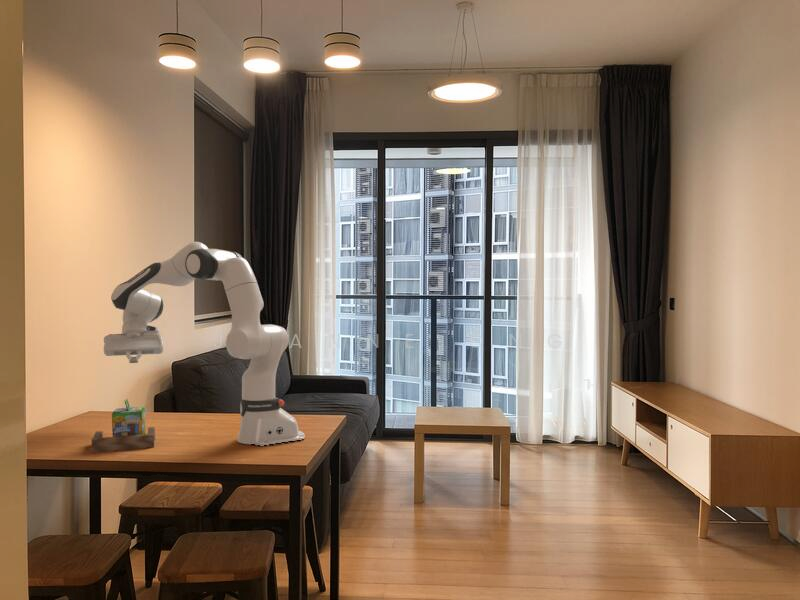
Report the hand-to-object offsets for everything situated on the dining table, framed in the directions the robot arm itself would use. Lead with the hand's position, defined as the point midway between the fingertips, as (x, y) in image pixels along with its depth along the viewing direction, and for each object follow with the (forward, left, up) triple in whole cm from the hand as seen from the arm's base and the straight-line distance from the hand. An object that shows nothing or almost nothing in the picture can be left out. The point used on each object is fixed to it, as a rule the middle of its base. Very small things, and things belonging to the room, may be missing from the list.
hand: (133, 362), depth 217 cm
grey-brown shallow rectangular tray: (+2, +24, -25) cm, 34 cm away
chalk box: (0, +23, -25) cm, 34 cm away
